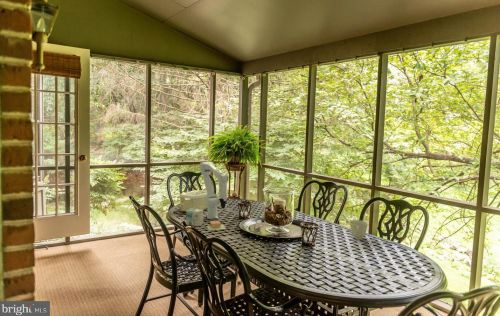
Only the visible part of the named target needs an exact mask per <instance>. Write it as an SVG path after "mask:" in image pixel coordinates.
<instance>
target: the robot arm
mask: <svg viewBox="0 0 500 316" xmlns="http://www.w3.org/2000/svg"><path fill="white" fill-rule="evenodd" d="M214 164H215V163H214V162H213V161H203V162H201V161H200V163H199V171H200V174H201V175H202V178H203V183H204V186H205V187H204V188H205V191H207V196H206V197H205V204H206V206H208V208H207V209H206V212H207V213H206V214H207V215H206V218H207V219H209V220H212V219H219V217H218V206H219V205H220V207H221V209H222V210H223V209H225V208H226V205H227V204H226V203H227V202H228V181H229V175H228V174H227V173H224V172H222V170H221V169H219V168H216V166H215V165H214ZM212 172H213V175H214V177H215V178H216V179H217V182H218V183H217V184H218V194H216V193H215V192H214V189H213V183H212V182H211V177H210V174H211V173H212Z"/></svg>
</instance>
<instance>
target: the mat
mask: <svg viewBox="0 0 500 316" xmlns="http://www.w3.org/2000/svg"><path fill="white" fill-rule="evenodd" d="M205 227H206V229H207V230H208V231H209V232H210V231H221V230H222V231H223V230H226V229H227V228H226V226H225V225H224V224H221V227H220V228H212V227H211V226H210V225H207V226H205Z"/></svg>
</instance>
